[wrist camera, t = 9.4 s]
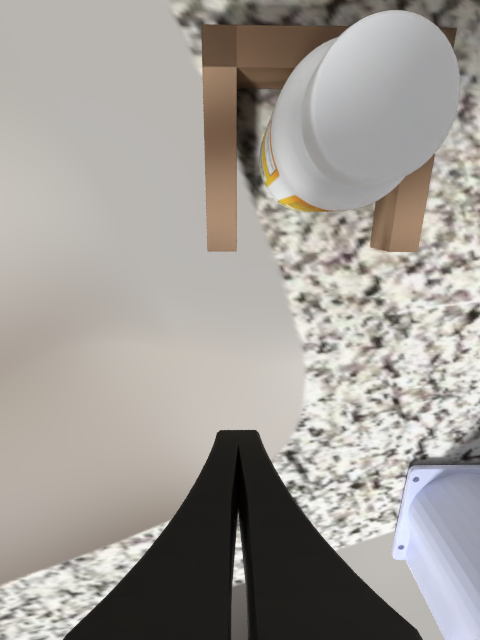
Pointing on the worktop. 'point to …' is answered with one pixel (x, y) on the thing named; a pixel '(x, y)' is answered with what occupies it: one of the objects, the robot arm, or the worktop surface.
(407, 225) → the wooden u-shaped bracket
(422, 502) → the robot arm
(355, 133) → the supplement bottle
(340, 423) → the worktop surface
